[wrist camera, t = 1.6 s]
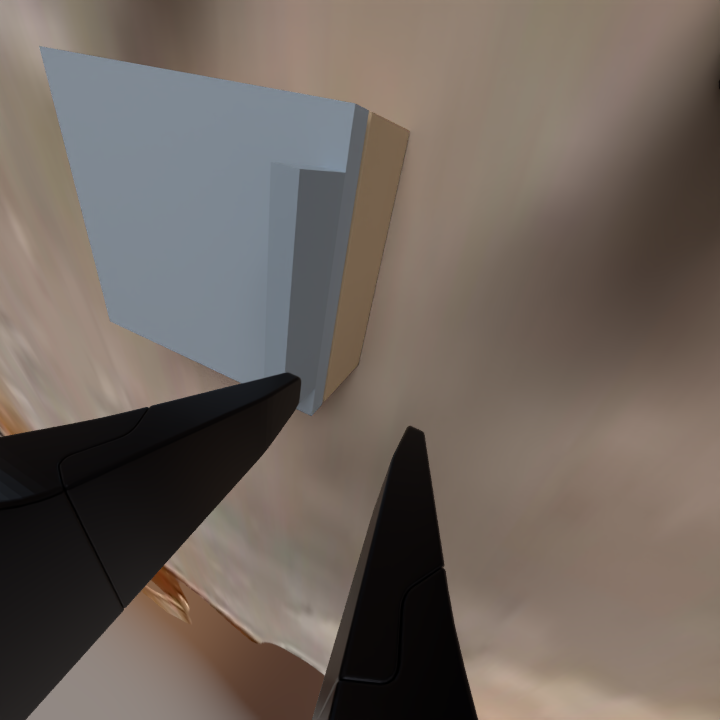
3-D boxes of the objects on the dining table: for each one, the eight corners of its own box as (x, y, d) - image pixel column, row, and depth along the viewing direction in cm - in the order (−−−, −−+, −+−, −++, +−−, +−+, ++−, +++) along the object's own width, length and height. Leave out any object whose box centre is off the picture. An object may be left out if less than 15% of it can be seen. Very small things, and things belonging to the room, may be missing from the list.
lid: (369, 110, 12) (306, 79, 8) (321, 404, 19) (278, 451, 16) (68, 54, 16) (-57, 18, 12) (127, 315, 23) (59, 337, 20)
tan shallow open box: (409, 131, 16) (372, 112, 12) (358, 364, 23) (324, 401, 19) (166, 83, 20) (75, 56, 16) (188, 295, 27) (131, 314, 23)
